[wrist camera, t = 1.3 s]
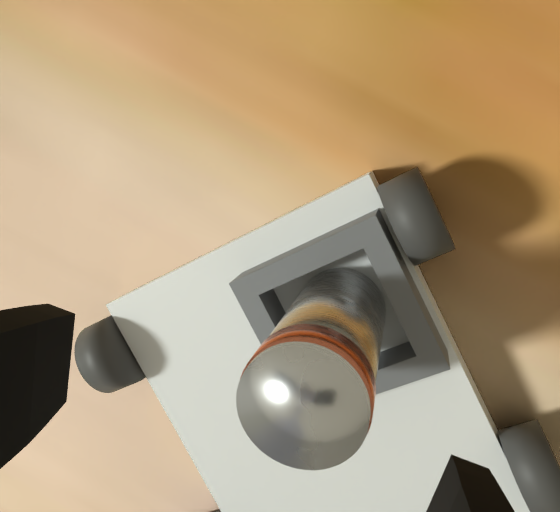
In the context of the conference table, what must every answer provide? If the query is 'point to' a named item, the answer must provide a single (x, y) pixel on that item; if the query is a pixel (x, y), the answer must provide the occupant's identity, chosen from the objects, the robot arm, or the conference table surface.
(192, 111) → the conference table surface
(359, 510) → the trolley deck
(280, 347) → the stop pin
